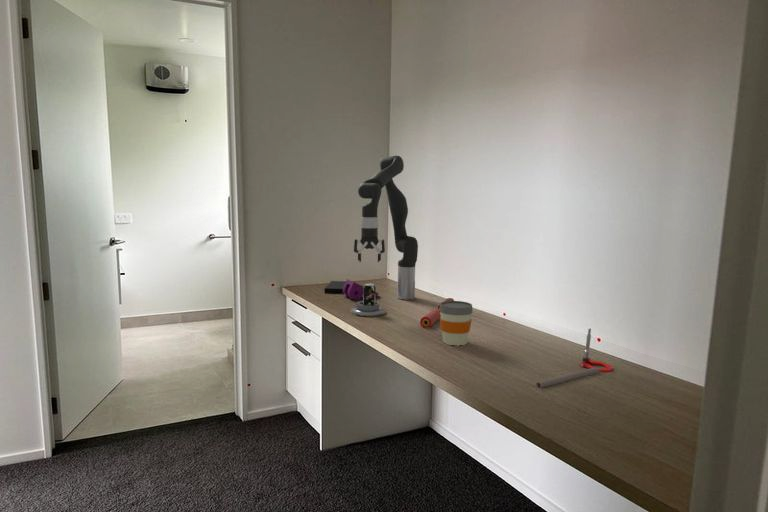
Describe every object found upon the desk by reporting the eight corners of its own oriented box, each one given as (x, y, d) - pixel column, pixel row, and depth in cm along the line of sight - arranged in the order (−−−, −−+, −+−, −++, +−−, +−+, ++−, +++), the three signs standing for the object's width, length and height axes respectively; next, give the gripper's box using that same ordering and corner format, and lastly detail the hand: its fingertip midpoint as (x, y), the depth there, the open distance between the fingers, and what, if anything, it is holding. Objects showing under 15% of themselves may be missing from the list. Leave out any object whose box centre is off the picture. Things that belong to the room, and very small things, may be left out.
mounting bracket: (368, 305, 285) (340, 293, 277) (374, 291, 286) (346, 279, 277) (375, 309, 276) (346, 296, 268) (381, 294, 277) (353, 282, 269)
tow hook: (615, 369, 174) (587, 361, 180) (620, 332, 172) (592, 325, 178) (606, 375, 168) (578, 367, 174) (611, 337, 166) (582, 330, 172)
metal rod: (535, 387, 156) (536, 381, 156) (593, 372, 170) (594, 366, 170) (540, 389, 155) (541, 383, 155) (598, 374, 169) (599, 368, 169)
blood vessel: (431, 329, 219) (431, 317, 218) (419, 327, 220) (420, 316, 220) (454, 308, 257) (455, 298, 257) (444, 307, 259) (445, 297, 259)
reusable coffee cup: (460, 336, 207) (462, 299, 205) (477, 345, 196) (479, 306, 194) (432, 339, 203) (433, 301, 201) (447, 348, 191) (449, 309, 189)
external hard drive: (324, 293, 286) (324, 288, 286) (331, 285, 309) (331, 280, 309) (350, 294, 286) (350, 289, 285) (354, 286, 308) (354, 281, 308)
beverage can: (377, 309, 244) (378, 284, 242) (369, 311, 240) (369, 285, 238) (368, 307, 248) (369, 282, 246) (360, 309, 244) (360, 284, 242)
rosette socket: (385, 309, 251) (385, 299, 251) (384, 317, 236) (384, 307, 235) (352, 308, 252) (352, 299, 251) (349, 316, 236) (349, 306, 236)
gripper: (385, 226, 243) (384, 260, 245) (354, 226, 243) (354, 260, 245) (384, 227, 235) (384, 263, 238) (353, 227, 236) (353, 262, 238)
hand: (369, 261), depth 242 cm, fingers open, 8 cm apart
